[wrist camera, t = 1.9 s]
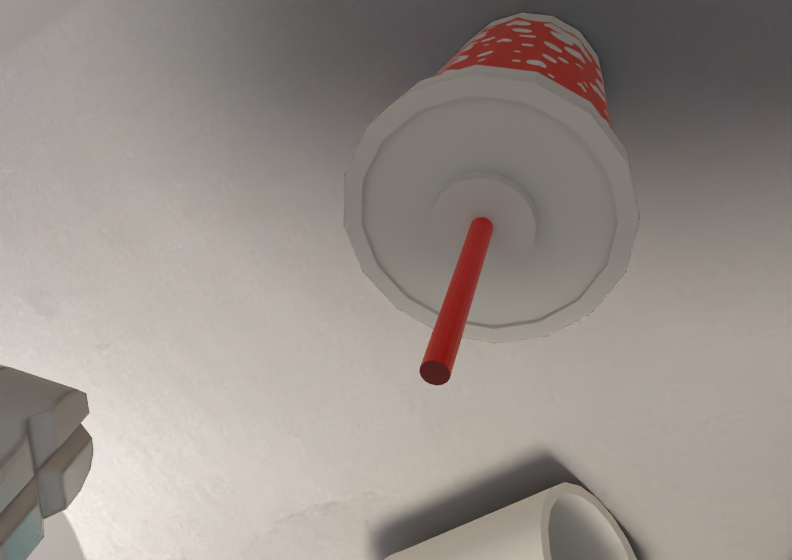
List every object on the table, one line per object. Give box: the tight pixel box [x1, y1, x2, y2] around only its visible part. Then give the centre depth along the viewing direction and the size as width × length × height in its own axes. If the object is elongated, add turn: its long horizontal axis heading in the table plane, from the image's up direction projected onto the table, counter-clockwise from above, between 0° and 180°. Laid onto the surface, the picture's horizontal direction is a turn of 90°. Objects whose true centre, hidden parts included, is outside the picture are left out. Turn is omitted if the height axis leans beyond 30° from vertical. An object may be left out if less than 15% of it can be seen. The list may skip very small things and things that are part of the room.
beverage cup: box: [344, 13, 640, 385], centre depth 17 cm, size 6×6×14 cm
